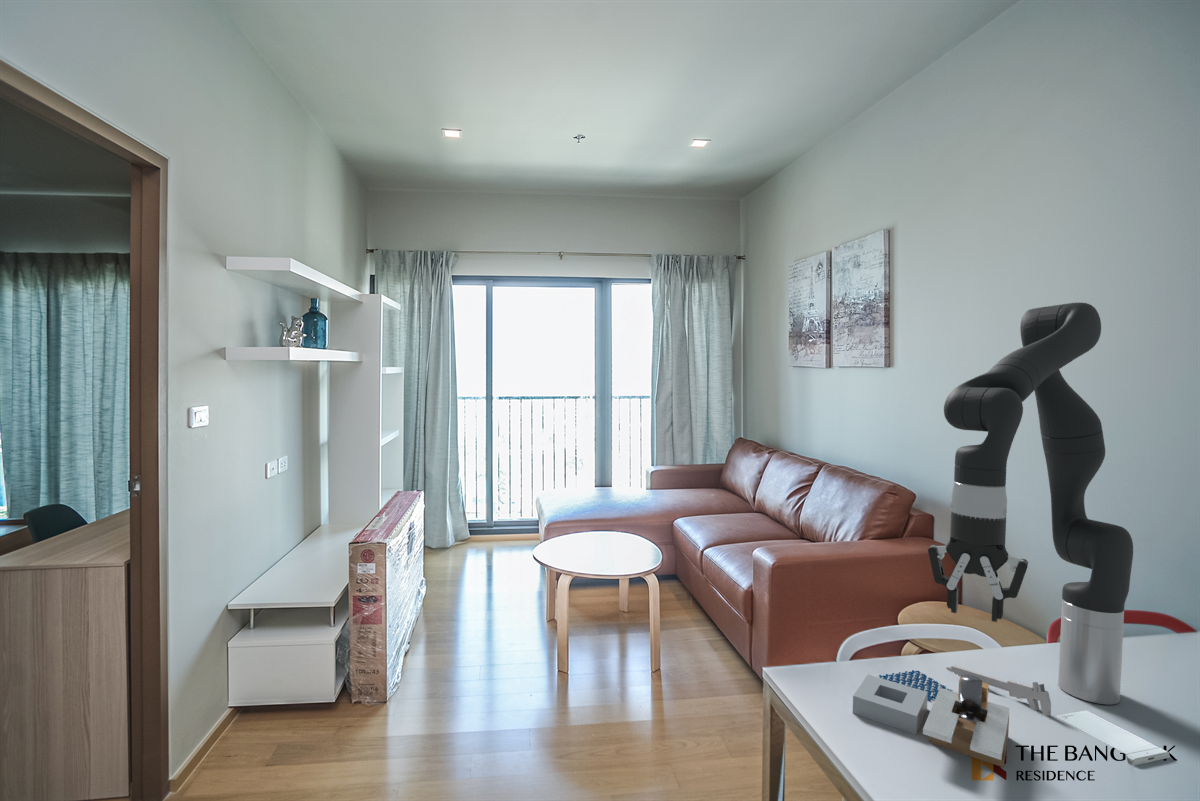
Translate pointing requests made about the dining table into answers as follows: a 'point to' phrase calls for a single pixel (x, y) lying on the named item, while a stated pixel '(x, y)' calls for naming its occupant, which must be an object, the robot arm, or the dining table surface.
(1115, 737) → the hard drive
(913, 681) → the woven mat
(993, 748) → the plate
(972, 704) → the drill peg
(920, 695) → the block
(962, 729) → the socket block
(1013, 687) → the caliper
